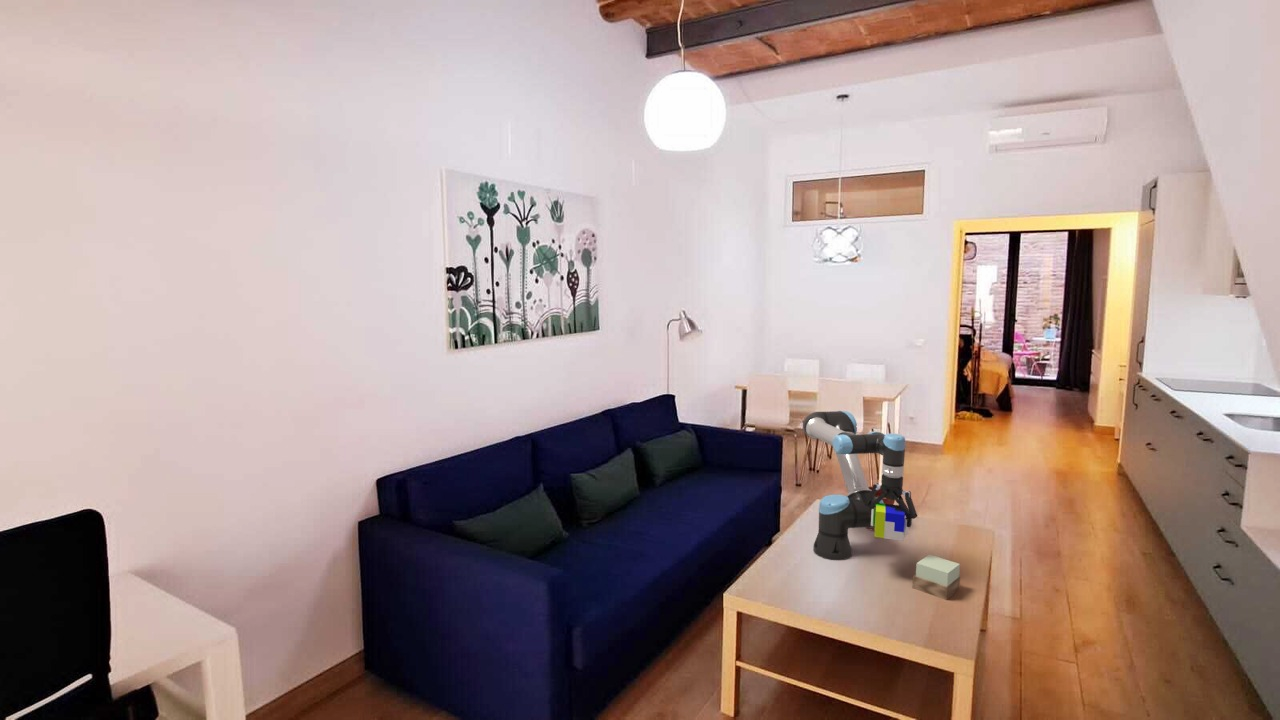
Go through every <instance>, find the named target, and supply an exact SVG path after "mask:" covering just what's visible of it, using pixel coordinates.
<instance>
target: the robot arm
mask: <svg viewBox="0 0 1280 720" xmlns="http://www.w3.org/2000/svg"><path fill="white" fill-rule="evenodd" d="M857 424H858V423H857V420H856V418H855V416H854V415H853V414H852V413H851V412H850V411H845V410H836V411H814V412H812V413H809V414H808V415H807V416H805V418H804V420H803V422H802V430H803V433H804V434H805V435H806V436H807V437H809V438H811V439H814V440H820V441H823V442H824V443H825V444H828V445H830V446H832V448H833V450H834V452H835V454H836V459H837V462H838V464H839V468H840V471H841V474H842V478H843V480H844V483H845V484H844V485H845V487H846V491H847V495H844V494H830V495H829V494H828V495H825V496H823V497H822V498H821V499H820V501H819V506H818V507H819V508H818V529H817V530H818V531H817V532H818V533H817V535H816V538H815V541H814V542H813V553H814V554H815V555H817V556H819V557H820V558H821V557H822V558H823V559H826V560H827V559H828V560H834V561H835V560H836V561H837V560H838V561H839V560H840V561H842V560H846V559H850V558H851V557H852V553H853V552H852V551H853V550H852V546H851V542H850V538H849V535H848V534H849V529H855V528H857V529H859V528H866V527H875V513H876V504H877V503H884V502H883V500H882V499H883V498H884V497H886V498H887V499H891V500H895V503H897V505H899V506H900V508H901V509H902V511H903V512H905V522H904V536H905V537H906V536H907V535H909V529H910V528H911V526H912V523H913V522H912V521H913V520H914V519H916V518H918V513H917V510H916V507H915V505H914V502H913V499H912V492H911V491H910V490H907V491H906V490H903V489H904V488H903V485H904V477H903V476H904V467H905V455H906V453H905V452H906V438H905V436H903V435H902V434H898V433H886V434H885V433H883V432H880V431H875V430H874V431H870V432H868V433H863V434H861V433H859V434H857V431H858V427H857V426H858V425H857ZM858 454H859V455H862V454H863V455H864V454H879V455H881V456H882V469H881V473H882V475H881V482H880V483H881V484H879V482H878V483H874V484H873V485H872V487H873V490H870V489H869V488H868V487H869V485H868V481H867V479H866V475H865V473H864V470H863V467H862V464H861V461H860V458H859V455H858ZM879 489H881V491H882V494H881V495H880V496H879V497H875V495H876V493H877V491H878V490H879ZM902 495H903V496H902ZM904 500H905V501H904ZM905 502H906V503H905Z"/></svg>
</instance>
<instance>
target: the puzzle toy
mask: <svg viewBox="0 0 1280 720" xmlns="http://www.w3.org/2000/svg"><path fill="white" fill-rule="evenodd" d="M905 518H906V516H905V512H903V511H902V509H901V508H900V506H899V504H893V505H892V504H884V503H877V504H876V513H875V530H874V538H881V539H886V540H887V539H888V540H895V541H902V542H903V541H904V536H905V535H904V522H905Z"/></svg>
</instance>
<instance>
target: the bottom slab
mask: <svg viewBox="0 0 1280 720" xmlns="http://www.w3.org/2000/svg"><path fill="white" fill-rule="evenodd" d="M960 584H961V576H959V578H957V579H956V580H955V581H954V582H952V583H951V584H950V585H949V586H947V587H946V586H943V585H940V584H937V583H934V582H931V581H928V580H925V579H922V578H919V577H916V573H914V575H913V576H912V589H914V590H917V591H919V592H923V593H926V594H929V595H931V596H934V597H937V598H940V599H943V600H945V601H947V600H948V599H949V598H951V596H954V594H955V593H957V591H959V590H960Z"/></svg>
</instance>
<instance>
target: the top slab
mask: <svg viewBox="0 0 1280 720" xmlns="http://www.w3.org/2000/svg"><path fill="white" fill-rule="evenodd" d="M915 564H916V565H915V567H916V568H915V574H916V577H919V578H922V579H925V580H928V581H931V582H934V583H937V584H940V585H943V586H946V587H947V586H949V585H950V584H951V583H952V582H954V581H955V580H956V579H957V578H959V577H960V570H961V564H960V563H958V562H955V561H952V560H948V559H945V558H942V557H939V556H935V555H932V554H927V556H926V555H925V557H924V558H922V559H921V560H919V561H918V562H916V563H915Z"/></svg>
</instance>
